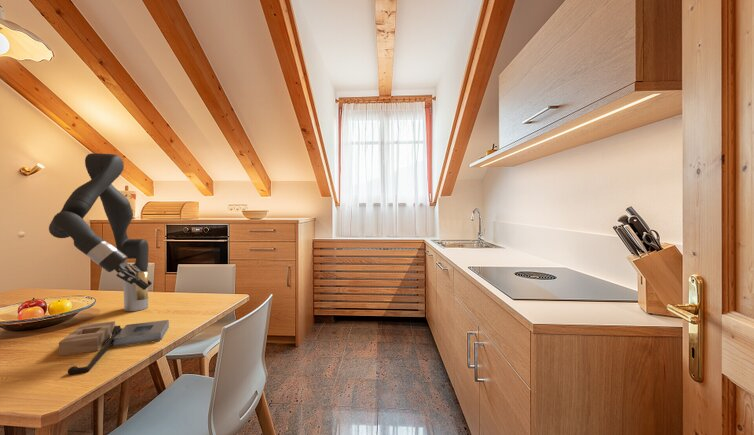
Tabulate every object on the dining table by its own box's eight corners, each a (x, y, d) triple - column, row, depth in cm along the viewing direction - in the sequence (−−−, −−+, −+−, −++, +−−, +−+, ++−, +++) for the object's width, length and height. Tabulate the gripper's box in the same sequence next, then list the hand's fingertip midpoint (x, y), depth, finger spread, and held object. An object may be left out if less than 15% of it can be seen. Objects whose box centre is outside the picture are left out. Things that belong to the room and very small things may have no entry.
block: (126, 332, 125) (126, 324, 125) (168, 327, 131) (168, 319, 131) (113, 347, 113) (113, 338, 112) (161, 340, 118) (160, 332, 118)
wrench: (65, 382, 94) (107, 336, 121) (88, 380, 96) (124, 334, 123) (66, 365, 93) (107, 322, 121) (88, 363, 95) (124, 321, 123)
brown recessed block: (82, 336, 121) (82, 324, 121) (115, 332, 125) (115, 321, 125) (59, 356, 106) (58, 342, 106) (97, 350, 110) (97, 337, 109)
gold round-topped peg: (137, 298, 122) (137, 271, 122) (149, 297, 123) (148, 271, 123) (134, 300, 119) (134, 273, 118) (146, 299, 120) (146, 272, 120)
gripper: (109, 251, 111) (152, 283, 116) (122, 246, 124) (160, 275, 129) (90, 267, 109) (134, 299, 114) (106, 261, 122) (145, 289, 127)
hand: (148, 286), depth 122 cm, fingers closed on gold round-topped peg, 3 cm apart
